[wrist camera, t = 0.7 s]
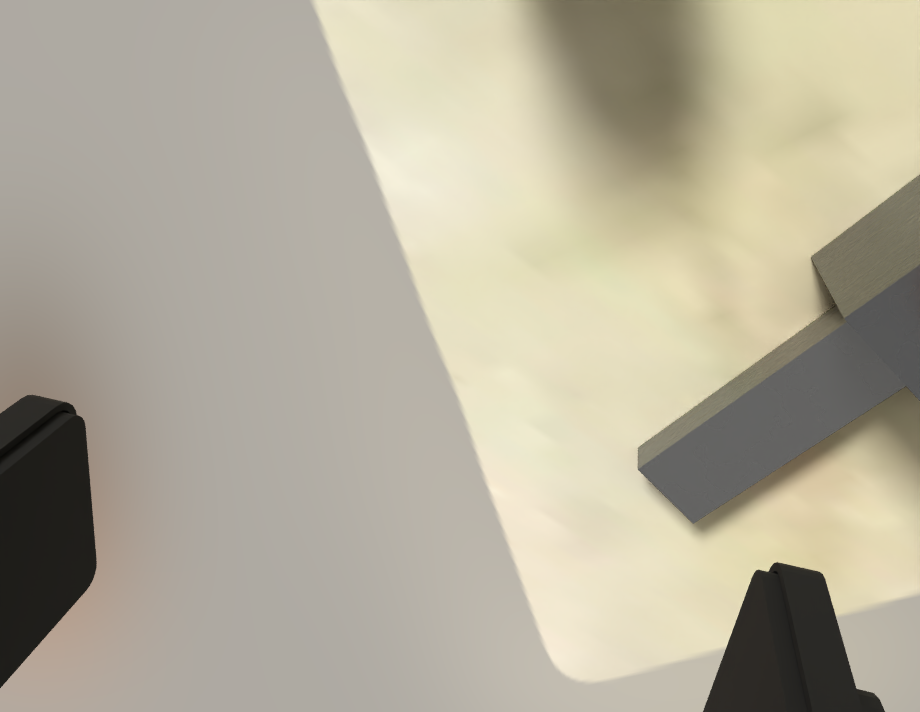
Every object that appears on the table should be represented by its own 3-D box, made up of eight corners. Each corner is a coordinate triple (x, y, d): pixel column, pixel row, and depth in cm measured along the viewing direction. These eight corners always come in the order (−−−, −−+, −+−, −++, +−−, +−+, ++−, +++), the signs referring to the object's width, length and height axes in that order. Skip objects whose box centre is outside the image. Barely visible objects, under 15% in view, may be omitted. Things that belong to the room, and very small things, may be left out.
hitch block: (1008, 107, 33) (1091, 143, 27) (1141, 269, 35) (1249, 338, 28) (603, 414, 42) (596, 493, 36) (723, 532, 44) (736, 627, 37)
